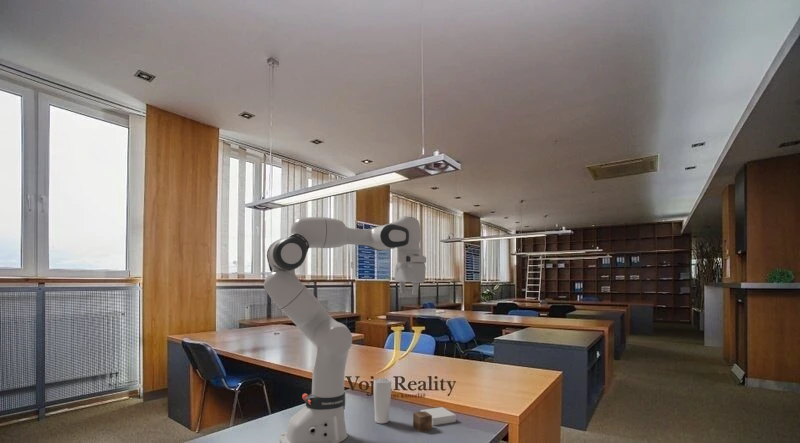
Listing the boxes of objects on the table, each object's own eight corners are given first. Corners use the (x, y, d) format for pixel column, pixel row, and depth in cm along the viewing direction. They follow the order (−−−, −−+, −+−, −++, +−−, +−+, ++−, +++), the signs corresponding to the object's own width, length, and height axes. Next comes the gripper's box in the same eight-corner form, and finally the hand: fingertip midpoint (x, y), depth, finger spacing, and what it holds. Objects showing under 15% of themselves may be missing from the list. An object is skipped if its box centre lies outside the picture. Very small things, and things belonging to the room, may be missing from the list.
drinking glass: (388, 425, 153) (389, 383, 155) (370, 423, 155) (371, 382, 157) (392, 419, 160) (393, 378, 162) (375, 417, 161) (376, 377, 163)
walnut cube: (419, 432, 148) (419, 417, 148) (413, 427, 152) (413, 412, 153) (431, 430, 150) (431, 415, 151) (425, 425, 154) (425, 411, 155)
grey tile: (433, 425, 154) (433, 418, 155) (420, 416, 163) (420, 410, 164) (455, 421, 158) (455, 414, 159) (442, 413, 167) (442, 407, 168)
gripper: (390, 258, 171) (390, 292, 169) (413, 257, 152) (413, 295, 151) (404, 259, 173) (404, 292, 172) (428, 257, 155) (428, 295, 153)
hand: (408, 294), depth 161 cm, fingers open, 8 cm apart
